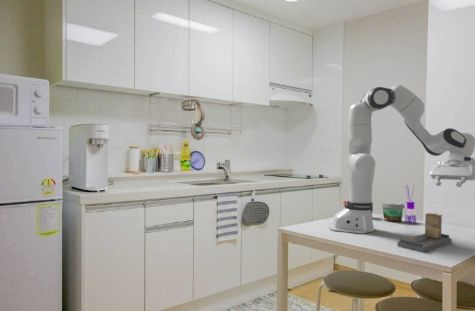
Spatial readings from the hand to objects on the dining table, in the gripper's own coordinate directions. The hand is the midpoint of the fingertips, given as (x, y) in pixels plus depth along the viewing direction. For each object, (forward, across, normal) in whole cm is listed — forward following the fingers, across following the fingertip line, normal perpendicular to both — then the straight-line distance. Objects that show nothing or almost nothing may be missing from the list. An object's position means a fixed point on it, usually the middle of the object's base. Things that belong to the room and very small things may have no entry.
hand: (447, 185), depth 174 cm
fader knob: (+25, 0, +5) cm, 26 cm away
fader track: (+32, 0, +1) cm, 32 cm away
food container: (+12, -35, +22) cm, 42 cm away
